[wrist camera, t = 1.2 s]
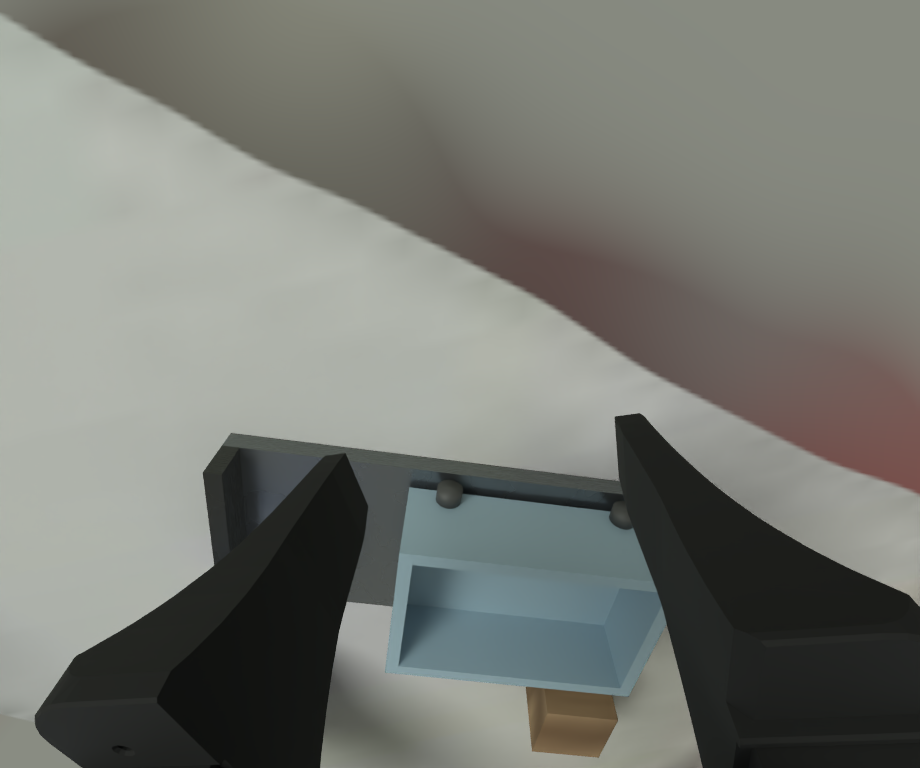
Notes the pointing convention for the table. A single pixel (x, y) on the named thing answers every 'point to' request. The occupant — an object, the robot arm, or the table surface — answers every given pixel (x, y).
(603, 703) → the walnut block
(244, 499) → the rail
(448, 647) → the cart
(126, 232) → the table surface
